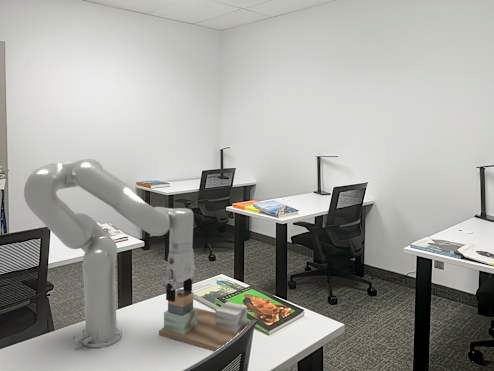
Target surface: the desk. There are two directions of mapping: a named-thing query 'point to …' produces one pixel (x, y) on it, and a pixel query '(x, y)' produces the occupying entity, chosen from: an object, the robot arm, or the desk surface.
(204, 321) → the stand board
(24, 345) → the desk surface
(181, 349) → the desk surface
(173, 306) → the housing
